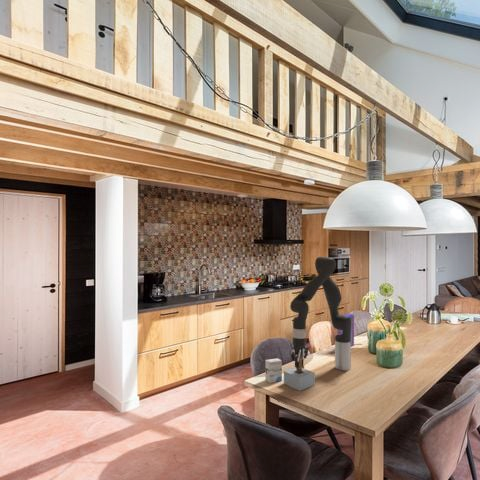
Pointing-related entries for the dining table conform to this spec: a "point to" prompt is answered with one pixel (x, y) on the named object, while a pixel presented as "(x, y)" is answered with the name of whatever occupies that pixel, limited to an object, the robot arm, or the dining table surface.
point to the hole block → (299, 379)
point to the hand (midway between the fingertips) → (299, 367)
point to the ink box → (273, 370)
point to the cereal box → (351, 329)
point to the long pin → (299, 370)
